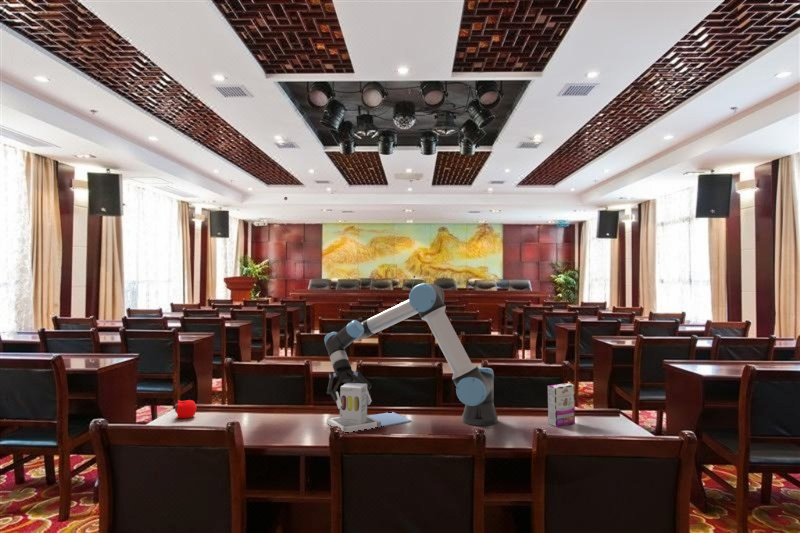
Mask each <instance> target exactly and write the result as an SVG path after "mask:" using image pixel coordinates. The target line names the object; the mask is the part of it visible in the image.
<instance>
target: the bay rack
mask: <svg viewBox="0 0 800 533" xmlns="http://www.w3.org/2000/svg"><path fill="white" fill-rule="evenodd" d="M391 412H392V413H388V412H384V413H378V414H369V415H368V414H367V423H366V424H360V425H354V426H348V427H344V426H342V425H340V416H336V417H329V418H326V424H327V425H328V424H329V425H328V426H330V425H331V426H338V427H340V428H341V430H342V431H344V432H349V433H354V432H353V431H355V432H359V431H358V430H361V431H365V430H364V429H367V430H372V429H371V428H373V429H376V428H375V427H378V428H383V426H384V427H389V426H390V427H391V426H395V425H401V424H402V425H403V424H407V423H412V419H410V418H407V417H405V416H402V415H401V414H399V413H396V412H394V411H391ZM331 426H330V427H331ZM381 426H382V427H381Z"/></svg>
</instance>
